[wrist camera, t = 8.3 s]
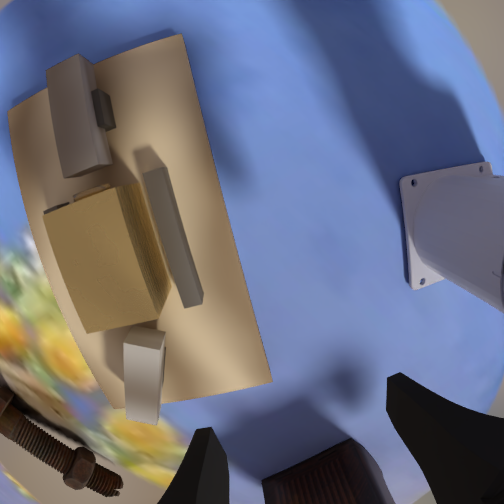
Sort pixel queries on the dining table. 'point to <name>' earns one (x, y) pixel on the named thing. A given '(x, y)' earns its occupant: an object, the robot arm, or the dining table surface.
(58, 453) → the bolt
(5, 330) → the dining table surface
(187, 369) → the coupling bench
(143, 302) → the block
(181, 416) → the dining table surface
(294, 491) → the brown manual coffee grinder
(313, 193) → the dining table surface
